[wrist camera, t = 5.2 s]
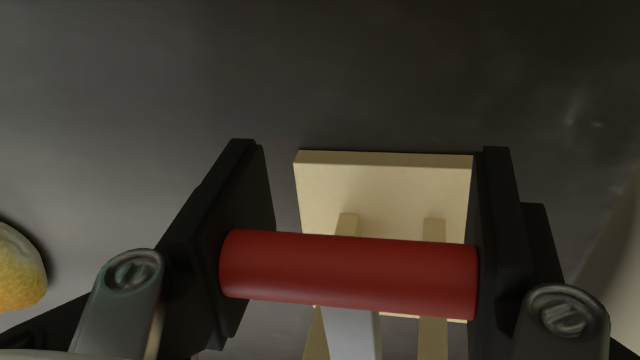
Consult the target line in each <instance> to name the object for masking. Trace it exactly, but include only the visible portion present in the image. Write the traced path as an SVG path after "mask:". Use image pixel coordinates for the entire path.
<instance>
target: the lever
mask: <svg viewBox="0 0 640 360" xmlns="http://www.w3.org/2000/svg"><path fill="white" fill-rule="evenodd" d="M218 278H219V285H220V288H221V291H222V292H223V294H224V295H226V296H227V297H234V298H244V299H255V300H265V301H275V302H285V303H296V304H306V305H316V306H320V310H321V315H322V320H323V324H324V329H325V334H326V339H327V344H328V349H329V354H330V359H331V360H382V354H381V337H380V319H379V312H388V313H398V314H408V315H418V316H429V317H439V318H449V319H459V320H470V321H471V320H474V318H475V316H476V312H477V306H478V294H479V258H478V251H477V248H476V246H475V245H473V244H460V243H445V242H430V241H415V240H400V239H385V238H370V237H355V236H340V235H325V234H310V233H295V232H280V231H265V230H250V229H233V230H231V231H230V232H229V233H228V234H227V236H226V237H225V239H224V242H223V244H222V247H221V251H220V256H219V264H218Z"/></svg>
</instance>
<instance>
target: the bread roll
mask: <svg viewBox="0 0 640 360" xmlns="http://www.w3.org/2000/svg"><path fill="white" fill-rule="evenodd" d="M47 288H48V281H47V277H46V272H45V269H44V266H43V262H42V259H41V257H40V254H39V252H38V251H37V249H36V248H35V247H34V246H33V245H32V244H31V242H30V241H29V240H28V239H27V238H26V237H24V236H23V235H22V234H21V233H20V232H18V231H17V230H15V229H14V228H12V227H11V226H9V225H7V224H5V223H3V222H1V221H0V314H1V313H3V312H5V311H6V310H21V309H25V308H28V307H30V306H32V305H34V304H36V303H37V302H39V301H40V300H41V299H42V297H43V296H44V295H45V293H46V291H47Z"/></svg>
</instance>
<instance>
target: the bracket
mask: <svg viewBox="0 0 640 360" xmlns="http://www.w3.org/2000/svg"><path fill="white" fill-rule="evenodd" d="M472 163H473V155H447V154H415V153H383V152H350V151H318V150H299V151H298V153H297V155H296V157H295V160H294V162H293V167H294V174H295V182H296V189H297V196H298V203H299V210H300V217H301V224H302V232H303V233H310V234H325V235H340V236H355V237H370V238H385V239H400V240H415V241H430V242H445V243H460V244H464V235H465V226H466V217H467V208H468V199H469V190H470V181H471V172H472ZM313 308H315V310H314V314H313V318H312V322H311V326H310V330H309V333H308V337H307V341H306V345H305V349H304V353H303V357H302V360H331V359H330V354H329V349H328V344H327V339H326V334H325V329H324V324H323V320H322V315H321V310H320V306H316V305H313ZM379 315H389V316H399V317H410V318H419V339H418V360H448V345H447V321H450V322H460V323H467V320H459V319H449V318H439V317H429V316H418V315H408V314H398V313H388V312H379Z"/></svg>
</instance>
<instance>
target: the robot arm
mask: <svg viewBox="0 0 640 360" xmlns="http://www.w3.org/2000/svg"><path fill="white" fill-rule="evenodd" d="M233 229H250V230H265V231H276V220H275V215H274V209H273V203H272V197H271V192H270V186H269V180H268V174H267V168H266V163H265V157H264V151H263V147H262V145H257V144H256V142H255V140H254V139H241V138H232V139H231V140H230V141H229V143H228V144H227V146H226V147H225V149H224V150H223V151H222V153H221V154H220V156H219V157H218V159H217V160H216V162H215V163H214V165H213V166H212V168H211V169H210V171H209V172H208V174H207V175H206V177H205V178H204V180H203V181H202V182H201V184H200V185H199V186H197V188H196V189H195V190H194V191H193V192H192V194H191V195H190V197H189V198H188V200H187V201H186V203H185V204H184V206H183V207H182V209H181V210H180V211H179V213H178V214H177V216H176V217H175V219H174V220H173V222H172V223H171V225H170V226H169V228H168V229H167V230H166V232H165V233H164V235H163V236H162V238H161V239H160V241H159V242H158V244H157V245H156V247H155V248H154V249H149V248H137V249H132V250H128V251H126V252H123V253H121V254H118V255H117V256H115V257H114V258H112V259H111V260H109V261H108V262H107V263H106V264H105V265H104V266H103V267H102V268H101V270H100V271H99V273H98V275H97V277H96V280H95V282H94V285H93V288H92V290H91V292H89V293H87V294H85V295H82V296H80V297H78V298H76V299H74V300H71V301H69V302H67V303H65V304H63V305H60V306H58V307H56V308H54V309H52V310H49V311H47V312H45V313H43V314H41V315H38V316H36V317H34V318H32V319H30V320H27V321H25V322H23V323H21V324H19V325H16V326H14V327H12V328H10V329H8V330H7V331H5V332H3V333H1V334H0V360H198V353H199V352H201V351H202V350H204V349H210V350H218V351H222V350H223V348H224V345H225V343H226V341H227V338H233V337H234V336H235V334H236V332H237V329H238V327H239V324H240V322H241V319H242V317H243V314H244V312H245V310H246V307H247V305H248V302H249V300H250V299H244V298H234V297H227V296H226V295H224V294H223V292H222V291H221V288H220V285H219V278H218V264H219V256H220V251H221V247H222V244H223V242H224V239H225V237H226V236H227V234H228V233H229V232H230V231H231V230H233ZM464 244H473V245H475V246H476V248H477V251H478V258H479V294H478V306H477V312H476V316H475V318H474V320H471V321H470V320H467V331H468V352H469V360H640V356H638V355H637V354H635V353H634V352H632V351H631V350H629V349H627V348H626V347H625V346H623V345H622V344H621V343H619V342H618V341H616V340H615V339H613V338H611V337H610V332H611V322H610V316H609V314H608V312H607V311H606V309H605V307H604V306H603V305H602V304H601V303H600V302H599V301H598V300H597V299H596V298H595V297H594V296H592V295H591V294H589V293H588V292H586V291H584V290H582V289H580V288H577V287H575V286H572V285H569V284H565V282H564V278H563V274H562V270H561V267H560V263H559V259H558V255H557V251H556V248H555V244H554V240H553V236H552V233H551V229H550V225H549V221H548V218H547V214H546V210H545V207H544V205H543V204H542V203H527V202H520V199H519V194H518V190H517V185H516V180H515V175H514V170H513V165H512V160H511V155H510V150H509V147H498V146H484V147H483V151H482V152H474V155H473V163H472V172H471V181H470V190H469V199H468V208H467V217H466V226H465V235H464Z"/></svg>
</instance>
